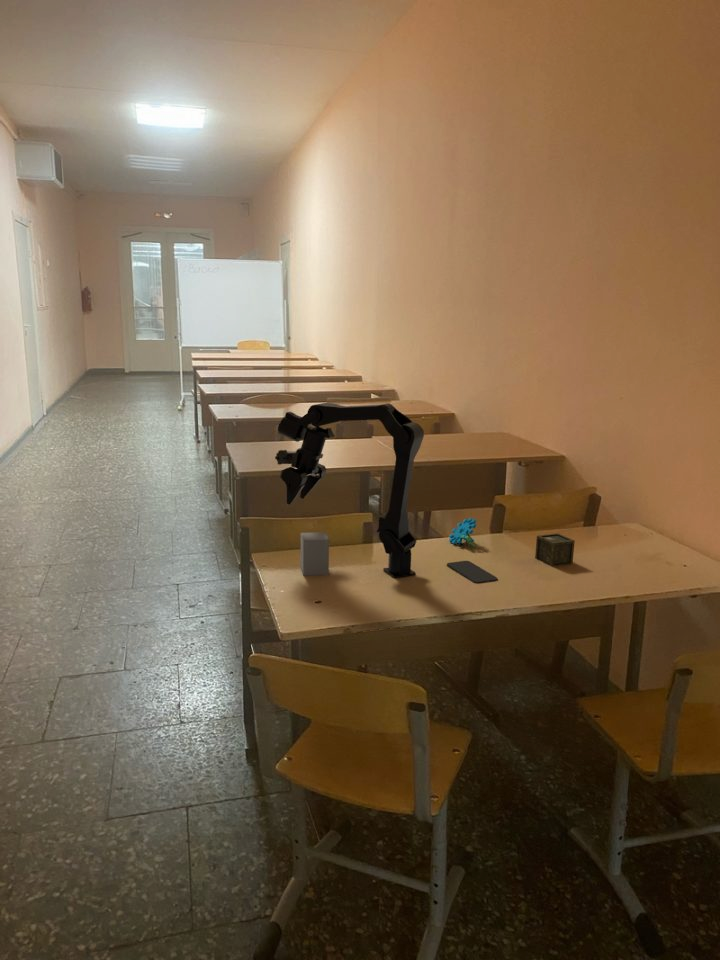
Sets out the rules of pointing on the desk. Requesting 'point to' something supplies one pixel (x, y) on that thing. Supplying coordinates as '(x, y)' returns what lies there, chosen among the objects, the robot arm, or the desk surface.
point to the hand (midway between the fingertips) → (295, 501)
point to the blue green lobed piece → (463, 532)
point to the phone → (472, 572)
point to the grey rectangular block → (314, 553)
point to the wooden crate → (554, 549)
